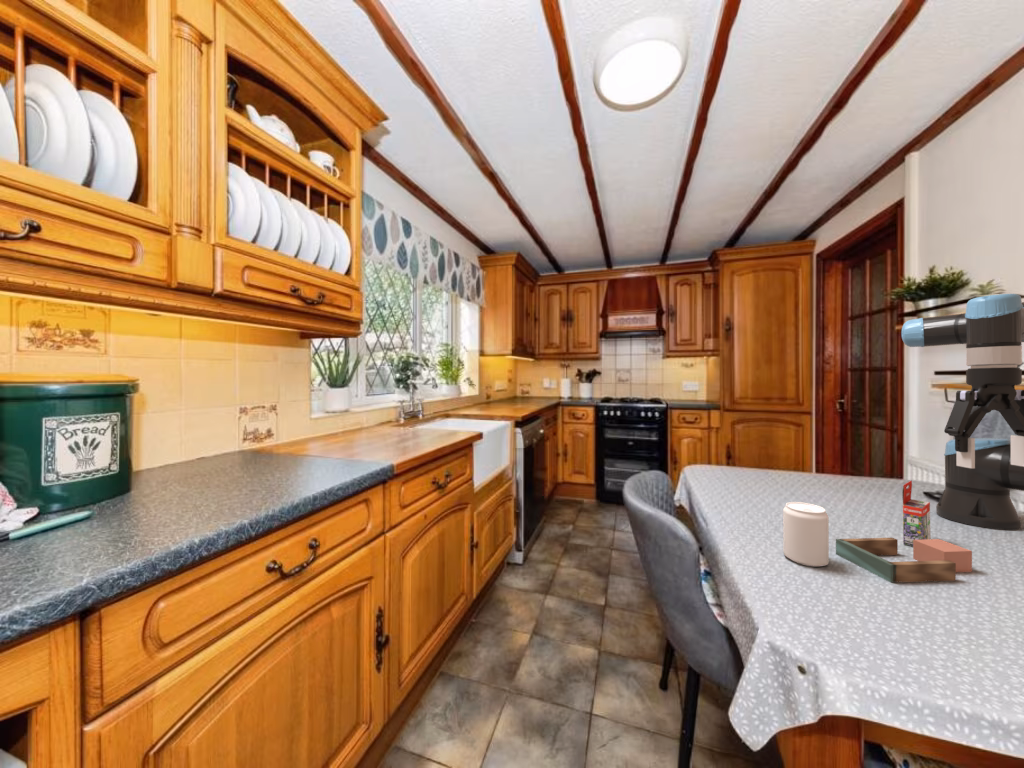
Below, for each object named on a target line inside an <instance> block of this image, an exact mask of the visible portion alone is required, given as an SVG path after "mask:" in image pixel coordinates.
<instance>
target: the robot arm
mask: <svg viewBox="0 0 1024 768" xmlns="http://www.w3.org/2000/svg"><path fill="white" fill-rule="evenodd" d="M901 339H902V341H903V343H904V345H906V346H907V347H910V348H917V347H918V348H919V347H920V348H924V347H938V346H951V345H965V348H966V366H967V367H970V368H967V369H966V370H965V383H966V385H969V386H971V390H957V391H956V393H955V402H954V405H953V407H952V410H951V413H950V414H949V417H948V420H947V422H946V426H945V427H944V433H945V434H948V435H949V436H951V437H954V438H953V439H949V440H948V441H947V442H946V443H945V451H944V454H943V455H944V477H945V478H944V483H945V484H944V485H945V486H944V490H943V492H942V494H941V496H940V498H939V499H938V502H937V503H936V511H935V512H936V515H938V516H940V517H941V518H944V519H946V520H950V521H953V522H957V523H961V524H965V525H970V526H974V527H981V528H987V529H995V530H1003V531H1004V530H1005V531H1006V530H1007V531H1008V530H1009V531H1013V530H1015V531H1016V530H1019V529H1021V528H1022V527H1021V526H1022V522H1021V521H1022V520H1021V517H1020V516H1019V515H1018V512H1017V510H1016V508H1015V505H1014V504H1013V501H1012V499H1011V490H1017V491H1023V492H1024V389H1016V387H1015V386H1020V385H1021V384H1022V383H1023V381H1022V379H1023V377H1022V374H1023V369H1021V367H1018V366H1020V365H1022V364H1023V349H1022V348H1023V346H1022V345H1023V344H1022V343H1024V301H1023V302H1022V297H1021V295H1020V294H1017V293H999V294H991V295H983V296H978V297H974V298H971V299H969V300H968V301H967V303H966V308H965V312H963V313H958V314H947V315H946V314H945V315H939V316H929V317H919V318H913V319H909V320H907V321H905V322H904V323H903V325H902V327H901ZM991 411H992V412H993V411H996V412H999V413H1000V415H1001V417H1002V418H1003V419H1004V420H1005V422H1006V423H1007V425H1008V426H1009V427H1010V429H1011V431H1012V432H1013V433H1014V434H1015V435H1014V434H1011V435H1010V439H1008V438H996V437H995V438H993V437H991V438H990V437H989V438H988V437H986V438H985V437H984V438H983V437H982V438H981V437H977V438H975V437H971V436H972V435H973V433H974V432H975V431H976V429H977V428H978V427H979V425H980V423H981V422H982V421H983V419H984V417H985V416H986V414H988V413H991Z"/></svg>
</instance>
